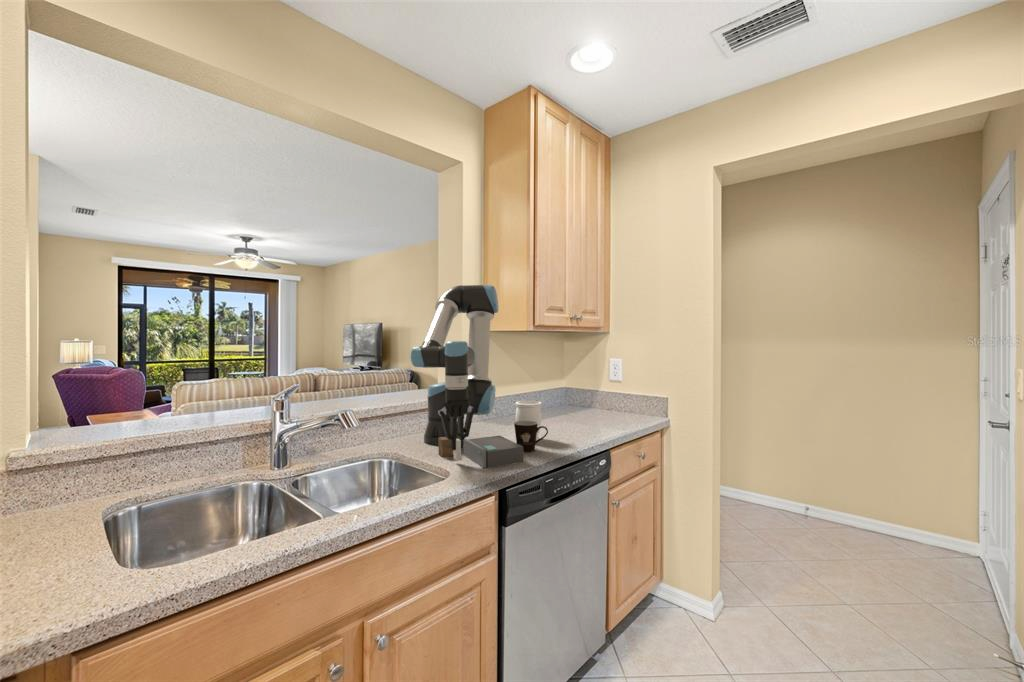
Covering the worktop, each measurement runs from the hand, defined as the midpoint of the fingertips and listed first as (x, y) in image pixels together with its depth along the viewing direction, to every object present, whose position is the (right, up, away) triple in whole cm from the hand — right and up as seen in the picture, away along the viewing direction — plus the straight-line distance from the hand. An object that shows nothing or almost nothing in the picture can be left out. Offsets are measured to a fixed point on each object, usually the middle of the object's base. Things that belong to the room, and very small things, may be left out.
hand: (457, 459), depth 148 cm
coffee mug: (+25, -1, +16) cm, 29 cm away
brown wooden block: (-5, -1, +10) cm, 12 cm away
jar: (+25, -1, +33) cm, 41 cm away
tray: (+10, -1, +6) cm, 12 cm away
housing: (+12, -1, +6) cm, 14 cm away
